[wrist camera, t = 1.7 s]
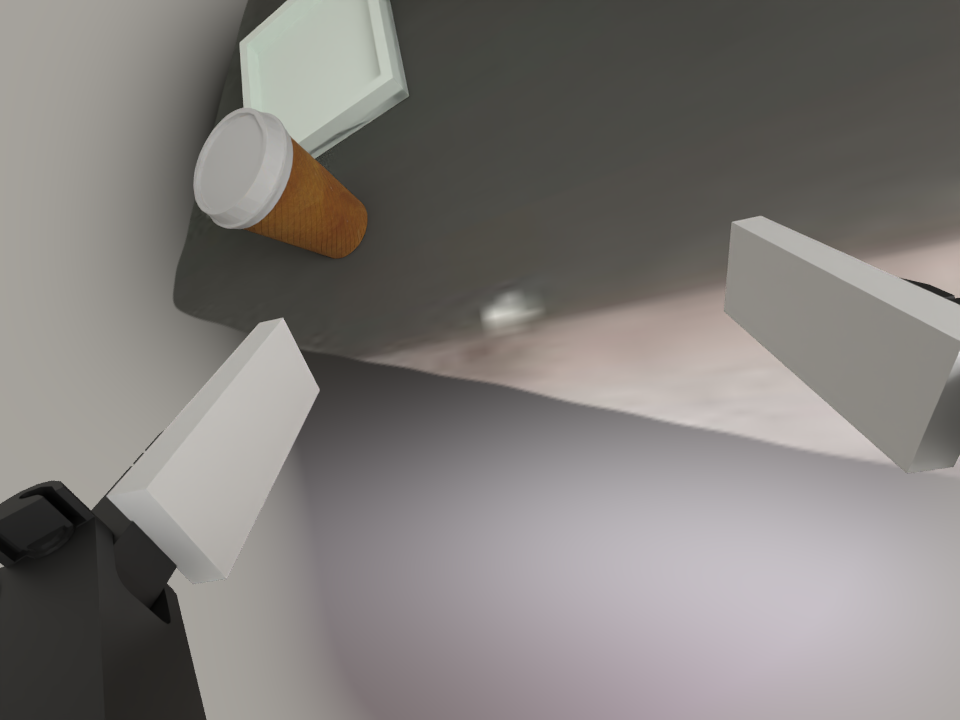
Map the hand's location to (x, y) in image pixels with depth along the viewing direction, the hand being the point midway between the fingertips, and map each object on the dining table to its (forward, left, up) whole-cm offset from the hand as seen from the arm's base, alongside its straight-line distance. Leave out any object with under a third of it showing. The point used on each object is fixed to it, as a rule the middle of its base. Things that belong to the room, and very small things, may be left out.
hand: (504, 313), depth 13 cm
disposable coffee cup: (-5, -30, -19) cm, 36 cm away
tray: (-20, -43, -18) cm, 51 cm away
